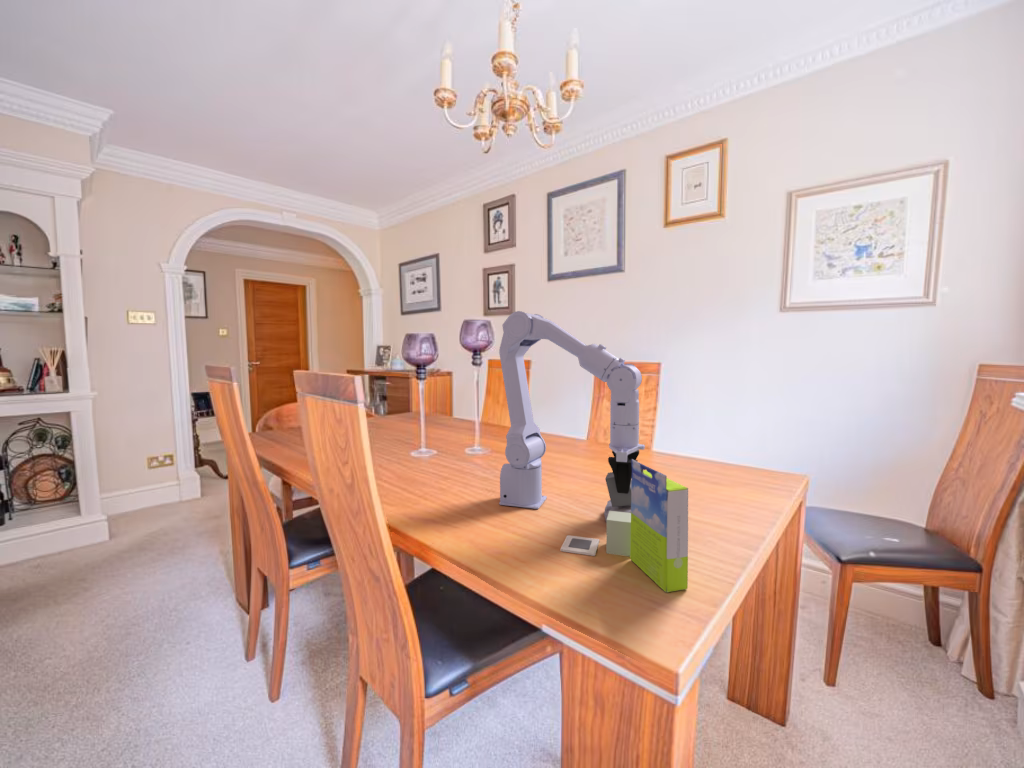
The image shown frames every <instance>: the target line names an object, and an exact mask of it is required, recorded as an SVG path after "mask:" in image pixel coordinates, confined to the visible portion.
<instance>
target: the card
mask: <svg viewBox="0 0 1024 768" xmlns="http://www.w3.org/2000/svg"><path fill="white" fill-rule="evenodd" d="M599 544H600V539H599V538H594V537H593V538H592V537H584V536H577V535H570V534H569V535H566V537H565V539H564V541H563V542H562V544H561V547H560V550H559V551H560V552H564V553H572V554H576V555H577V554H579V555H584V556H585V555H586V556H593V557H595V556H596V553H597V551H598V550H597V549H598V547H599Z"/></svg>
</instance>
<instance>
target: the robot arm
mask: <svg viewBox="0 0 1024 768" xmlns="http://www.w3.org/2000/svg"><path fill="white" fill-rule="evenodd" d="M502 331H503V334H502V337H501V342H500V346H499V352H498V353H499V359H500V364H501V371H502V379H503V383H504V389H505V390H504V391H505V395H506V396H505V398H506V403H507V410H508V415H509V423H510V427H509V429H508V430H507V433H506V436H505V437H506V439H505V440H506V445H505V450H504V455H505V457H506V460H507V462H508V463H504V464H503V465H502V467H500V469H501V470H500V475H499V490H500V491H499V497H500V498H499V503H498V504H499V505H500V506H509V507H516V508H517V507H518V508H524V509H525V508H526V509H535V510H539V508H540V507H541V506H542V505H543V504H544V502H545V501H546V500H547V495H543V492H542V489H543V487H542V483H543V479H542V476H543V475H542V472H543V471H542V469H543V467H542V457H543V456H544V455H545V454H546V450H547V444H546V442H545V439H544V438H543V437H542V434H541V430H540V429H541V428H540V427H539V426H538V425H537V424H536V422H535V421H534V415H533V410H532V409H533V408H532V402H531V397H530V391H529V385H528V384H529V383H528V378H527V371H526V365H525V359H524V356H525V355H526V353H527V352H528V351H529V350H530V348H531V347H532V346H534V345H535V344H536V343H538V342H539V341H541V340H547V341H549V342H552V343H553V344H555V345H556V346H558V347H560V348H561V349H563V350H565V351H566V352H568V353H569V354H571V355H573V356H575V357H577V358H578V364H579V366H580V367H581V368H583V369H584V370H585V371H587V372H589V373H590V374H591V375H593V376H595V377H596V379H599V380H600V381H601V382H604V383H606V385H607V388H608V389H609V391H610V406H609V408H610V410H609V411H610V413H609V414H610V415H609V416H610V417H609V419H610V423H609V425H610V429H609V430H610V432H609V433H610V435H609V436H610V438H609V439H610V441H609V442H610V443H609V444H608V447H609V449H610V450H611V454H612V456H608V458H607V462H608V464H609V467H610V468H611V472H613V474H614V478H615V484H616V489H617V492H618V493H625V494H628V492H629V488H630V483H631V480H632V464H631V459H633V460H635V461H637V462H639V460H638V459H637V458H638V456H639V455H640V450H642V451H644V450H645V449H646V446H645V444H643V443H642V444H641V443H640V441H639V439H640V400H639V397H640V393H639V392H640V391H639V388H640V386H641V384H642V380H643V377H642V376H643V375H642V372H641V371H640V369H638V367H636V366H635V365H634V364H632V363H625V362H626V359H625V358H623V357H617V356H615V355H614V354H613V353H611V352H609V351H608V350H606V349H607V346H605V345H604V344H602V343H601V344H599V345H598V344H597V343H592V344H588V345H587V344H585V342H583V341H582V340H580V339H578V338H577V337H576V336H575V335H573V334H571V333H570V332H568V331H567V330H566V329H564V328H563V327H561V326H560V325H559V324H557V323H556V322H555V321H552V320H551V319H548V318H545V317H544V316H543V315H540V314H538V313H534V314H533V313H528V312H525V311H520V310H517V311H514V312H511V314H509V316H508V317H507V318H506V320H504V322H503V323H502Z"/></svg>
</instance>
